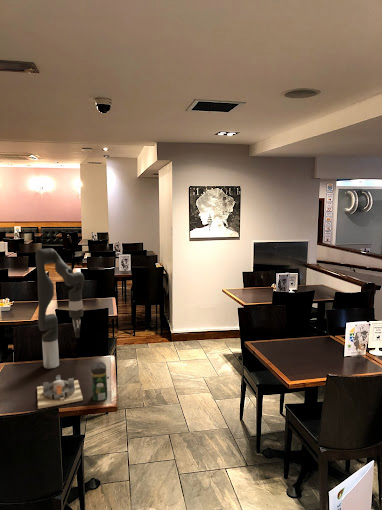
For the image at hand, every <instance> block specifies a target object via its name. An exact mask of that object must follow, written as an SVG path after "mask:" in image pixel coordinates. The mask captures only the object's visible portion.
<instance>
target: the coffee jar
mask: <svg viewBox="0 0 382 510" xmlns="http://www.w3.org/2000/svg"><path fill="white" fill-rule="evenodd" d="M90 373H91V375H90V377H91V391H92V393H91V394H92V400H94V401H97V402H100V401H101V402H102V401H104V400H106V399H108V380H107V379H108V377H107V375H108V374H107V365H106V363H105V362H103V361H96V362H94V363H93V364H91V368H90Z"/></svg>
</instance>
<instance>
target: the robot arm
mask: <svg viewBox="0 0 382 510" xmlns="http://www.w3.org/2000/svg"><path fill="white" fill-rule="evenodd" d="M35 264H36V273H37V297H38V300H37V301H38V310H37V311H38V313H37V326H38V329H39V331H41V332H45V333H43V335H42V336H41V342H42V343H41V344H42V345H41V346H42V360H43V368H45V369H54V368H57V367H59V366H60V356H59V342H58V336H59V331H58V330H59V327H58V326H59V325H58V323H59V322H58V317H57V315H56V313H50V314H47V310H48V308H49V305H50V304H51V302H52V300H53V298H54V295H55V287H54V283H53V281H52V279H51V278H50V276H49V275H48V273H47V272H46V268H45V267H46V266H45V265H49V264H54V265H55V266H54V269H55V272H56V273H57V274H58V275H59V276H60V277H61V278H62V280H63V282H64V284H65V286H68V287H73V286H74V287H73V288H72V289H70V290H69V291H68V314H69V315H68V316H69V317H70V318H72V325H73V330H74V335H75V336H74V337H75V339H79V338H80V337H81V336H80V331H81V321H82V320H81V317H83V316H84V304H83V303H84V302H83V295H82V292H83V289H84V284H85V276H84V274H83V273H82V272H78V271H77V272H74V269H72V268H71V266H69V265H68V264H67V263H66V262H64V260H63V259H62V258H61V256H60V255H59V254H58V253H57V251H56V250H55V249H54V248H50V247H49V248H41V249H40V248H39V249H36V251H35ZM46 331H47V332H46Z"/></svg>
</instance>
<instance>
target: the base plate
mask: <svg viewBox="0 0 382 510" xmlns="http://www.w3.org/2000/svg"><path fill="white" fill-rule="evenodd" d="M64 381H65V380H64V379H61V380H57V381H56V380H54V381H53V382H52V383H53V390H51V391H52V392H57V386H58V385H61V387H62V391H64V390H66V389H67V388H65V382H64ZM74 386H75V391H74V393H73V394H71V395H69V396H68V397H65V398H64V397H61V398H60V399H55V400H54V399H48V398H45V397H43V385H40V386H36V390H37V391H36V392H37V409H38V410H39V409H43V408H50V407H54V406H61V405H65V404H71V403H75V402H76V403H77V402H82V401H83V399H84V398H83V394H82V390H81V388H80V387H81V386H80V382H79V380H78V379H76V380H74Z"/></svg>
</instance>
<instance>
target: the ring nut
mask: <svg viewBox="0 0 382 510" xmlns="http://www.w3.org/2000/svg"><path fill="white" fill-rule="evenodd" d="M61 378H62V377H61V374H57V375H55V381H57V380H62V379H61ZM74 378H75V377H72V378H71V377H70V378H67V379H68V380H66V379H65V380H63V381H64V382H65V388H67V389H66V390H64V391H62V387H61V385H58V386H57V392H52V391H51V390H53V382H49V381H46V382H43V383H42V386H43V397H45V398H48V399H54V400H55V399H60V398H61V397H64V398H65V397H68V396H69V395H71V394H73V393H74V391H75V386H74V381H75V380H74Z"/></svg>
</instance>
